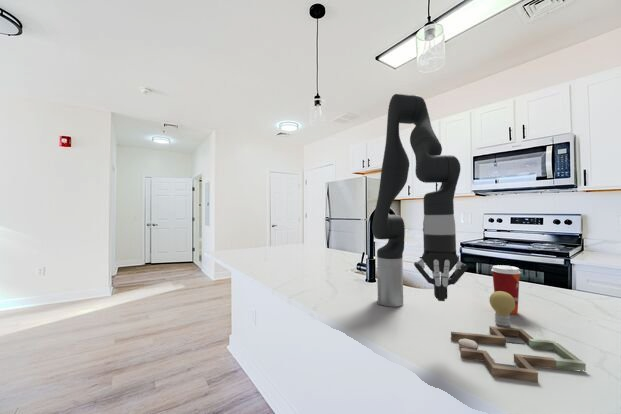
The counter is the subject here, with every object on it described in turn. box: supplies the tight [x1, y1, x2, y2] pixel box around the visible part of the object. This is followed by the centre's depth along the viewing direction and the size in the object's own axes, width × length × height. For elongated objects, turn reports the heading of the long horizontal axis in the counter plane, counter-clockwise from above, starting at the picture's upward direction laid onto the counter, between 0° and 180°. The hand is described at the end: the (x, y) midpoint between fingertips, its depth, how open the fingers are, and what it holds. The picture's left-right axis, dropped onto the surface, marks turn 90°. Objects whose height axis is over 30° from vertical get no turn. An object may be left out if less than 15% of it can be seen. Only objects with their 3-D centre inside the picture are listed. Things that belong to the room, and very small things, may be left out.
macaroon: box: [458, 339, 479, 350], centre depth 68 cm, size 4×5×2 cm
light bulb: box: [489, 291, 515, 328], centre depth 82 cm, size 6×6×10 cm
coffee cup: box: [491, 264, 522, 316], centre depth 93 cm, size 8×8×15 cm
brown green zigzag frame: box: [450, 325, 587, 383], centre depth 66 cm, size 24×23×2 cm
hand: (441, 300), depth 70 cm, fingers closed
